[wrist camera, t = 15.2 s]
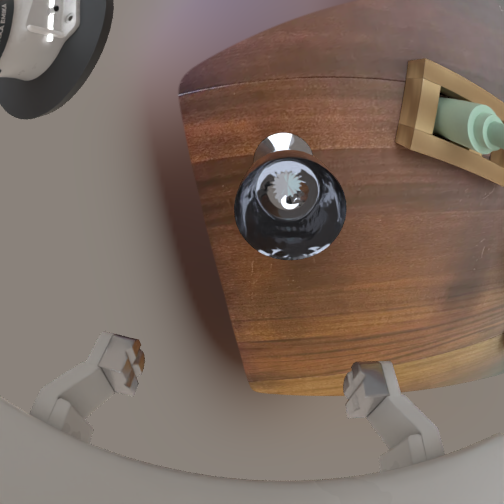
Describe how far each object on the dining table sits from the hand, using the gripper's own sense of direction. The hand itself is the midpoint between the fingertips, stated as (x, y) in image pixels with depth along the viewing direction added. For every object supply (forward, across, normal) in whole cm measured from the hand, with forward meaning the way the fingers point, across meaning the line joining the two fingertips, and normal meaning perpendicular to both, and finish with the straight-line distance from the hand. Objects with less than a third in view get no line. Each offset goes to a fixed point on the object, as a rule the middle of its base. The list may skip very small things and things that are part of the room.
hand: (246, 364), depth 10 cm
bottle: (+27, -21, -11) cm, 36 cm away
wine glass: (+27, -2, -1) cm, 27 cm away
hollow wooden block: (+27, -26, -11) cm, 39 cm away
